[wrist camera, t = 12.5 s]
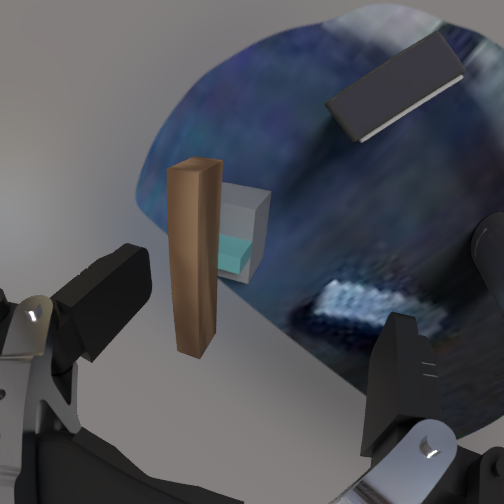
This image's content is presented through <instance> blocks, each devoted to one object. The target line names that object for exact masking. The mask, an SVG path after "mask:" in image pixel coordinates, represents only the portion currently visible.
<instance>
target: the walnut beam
mask: <svg viewBox="0 0 504 504" xmlns="http://www.w3.org/2000/svg"><path fill="white" fill-rule="evenodd" d="M222 171H223V160H218V159H210V158H203V157H195V156H194V157H192V158H190V159H188V160H185V161H183V162H181V163H179V164H176V165H174V166H172V167H170V168H168V169H167V211H168V238H169V257H170V274H171V287H172V300H173V312H174V322H175V331H176V341H177V350H178V351H179V352H181V353H184V354H187V355H190V356H192V357H195V358H198V359H200V358H201V357H202V355H203V353H204V352H205V350H206V348H207V347H208V345H209V343H210V342H211V340H212V338H213V337H214V335H215V333H216V311H217V308H216V307H217V277H218V250H219V227H220V207H221V188H222Z"/></svg>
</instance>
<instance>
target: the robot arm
mask: <svg viewBox="0 0 504 504" xmlns="http://www.w3.org/2000/svg"><path fill="white" fill-rule="evenodd" d="M471 255H472V259H473V261H474V263H475V265H476V266H477V268H478V270H479V272H480V274H481V276H482V278H483V280H484V282H485V283H486V285H487V287H488V289H489V291H490V293H491V295H492V297H493V299H494V301H495V303H496V305H497V307H498V310H499V312H500V314H501V316H502V318H503V320H504V212H496V213H493V214H491V215H489V216H488V217H486V218H485V219H484V220H483V221H482V222H481V223H480V224H479V225H478V227H477V228H476V230H475V232H474V234H473V237H472V241H471ZM151 292H152V280H151V270H150V261H149V253H148V251H147V249H145V248H143V247H139V246H135V245H132V244H129V243H126V244H124V245H122V246H121V247H120V248H119V249H117V250H116V251H115V252H113V253H111V254H109V255H107V256H104V257H102V258H99V259H98V260H96V261H95V262H94V263H92V264H91V265H90V266H89V267H88V269H87V268H86V269H85V270H83V271H82V272H81V273H80V275H77V276H76V277H75V278H73V279H72V280H71V281H70V282H69V283H67V284H66V285H65V286H64V287H62V288H61V289H60V290H59V291H58V292H56V293H55V294H54V295H53V296H52V297H50V298H48V297H46V296H43V295H36V296H32V297H29V298H27V299H25V300H23V301H22V302H21V303H20V304H16V303H11V302H8V301H7V299H6V297H5V294H4V292H3V290H2V289H1V288H0V504H244V502H243V501H240V500H237V499H234V498H230V497H227V496H224V495H221V494H218V493H215V492H213V491H210V490H207V489H204V488H202V487H199V486H193V485H187V484H181V483H175V482H171V481H166V480H161V479H156V478H152V477H150V476H148V475H146V474H145V473H144V472H142V471H141V470H140V469H139V468H138V467H137V466H135V465H134V464H133V463H132V462H131V461H130V460H129V459H128V458H126V457H125V456H124V455H123V454H122V453H121V452H120V451H119V450H118V449H117V448H116V447H115V446H113V445H111V444H109V443H108V442H106V441H104V440H102V439H101V438H99V437H98V436H96V435H95V434H93V433H91V432H89V431H88V430H87V429H85V428H83V427H81V424H80V422H79V419H78V415H77V375H78V365H77V362H76V360H77V359H78V358H79V357H80V356H81V357H83V358H84V359H86V360H88V361H90V362H91V363H92V362H93V361H94V360H95V359H96V358H97V357H98V355H99V354H100V353H101V352H102V351H103V350H104V349H105V347H106V346H107V345H108V344H109V343H110V342H111V341H112V339H114V337H115V336H116V335H117V334H118V333H119V332H120V331H121V330H122V329H123V327H124V326H125V325H126V324H127V323H128V322H129V321H130V320H131V319H132V317H133V316H134V315H135V314H136V313H137V312H138V311H139V310H140V309H141V308H142V307H143V306H144V305H145V303H146V302H147V301H148V300H149V298H150V295H151ZM435 365H436V361H435V354H434V349H433V348H432V346H431V344H430V343H429V341H428V339H427V338H426V336H421V335H418V330H417V323H416V319H415V317H413V316H409V315H404V314H400V313H395V312H391V313H390V315H389V316H388V318H387V320H386V323H385V325H384V327H383V329H382V331H381V333H380V335H379V337H378V340H377V342H376V344H375V346H374V348H373V350H372V353H371V357H370V361H369V371H368V387H367V400H366V410H365V411H366V412H365V420H364V429H363V439H362V445H361V454H360V456H363V457H371V458H372V460H371V467H370V468H369V469H368V470H367V471H366V472H365V473H364V474H363V475H362V476H361V477H359V478H358V479H357V480H356V481H355V482H354V483H353V484H351V485H350V486H349V487H348V488H347V489H346V490H344V491H343V492H342V493H341V494H339V495H338V496H337V497H336V498H335V499H333V500H332V501H331V502H329V503H328V504H504V448H503V447H493V448H491V449H489V450H488V451H486V452H485V453H484V454H483V455H480V454H478V453H475V452H473V451H470V450H468V449H465V448H462V447H461V446H459V445H457V441H456V437H455V435H454V433H453V431H452V430H451V429H450V428H449V427H448V426H447V425H446V424H444V423H443V420H442V409H441V399H440V390H439V382H438V378H437V375H438V374H437V367H436V366H435Z"/></svg>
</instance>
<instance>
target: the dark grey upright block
mask: <svg viewBox="0 0 504 504" xmlns="http://www.w3.org/2000/svg"><path fill="white" fill-rule="evenodd" d="M465 71H466V70H465V68H464V66H463V65H462V63H461V62H460V60H459V59H458V57H457V56H456V54H455V53H454V52H453V50H452V49H451V47H450V46H449V45H448V43H447V42H446V40H445V39H444V38H443V36H442V35H441V34H440V33H439V32H438V31H435V32H433V33H432V34H430V35H428V36H427V37H425V38H423V39H422V40H420V41H418V42H417V43H415V44H413V45H412V46H410V47H408V48H407V49H405V50H403V51H402V52H400V53H399V54H397V55H395V56H394V57H392V58H391V59H389V60H388V61H386V62H384V63H383V64H381V65H380V66H378V67H377V68H375V69H374V70H372V71H371V72H369V73H368V74H366V75H365V76H363V77H362V78H360V79H359V80H357V81H356V82H354V83H353V84H351V85H350V86H348V87H347V88H345V89H344V90H343V91H341V92H340V93H338V94H337V95H335V96H334V97H333V98H331V99H330V100H328V101H327V102H326V103H325V106H326V108H327V109H328V110H329V112H330V113H331V114H332V115H333V117H334V118H335V119H336V121H337V122H338V123H339V125H340V126H341V127H342V128H343V130H344V131H345V132H346V134H347V135H348V137H349V138H350V139H351V141H352V142H357V141H358V140H359V141H360V142H361V143H362V142H364V141H366V140H367V139H369V138H370V137H372V136H373V135H375V134H377V133H378V132H380V131H381V130H383V129H384V128H386V127H387V126H389V125H390V124H392V123H393V122H395V121H396V120H398V119H400V118H401V117H403V116H404V115H406V114H407V113H409V112H410V111H412V110H413V109H415V108H417V107H418V106H420V105H421V104H423V103H424V102H426V101H428V100H429V99H431V98H432V97H434V96H436V95H437V94H439V93H440V92H442V91H443V90H445V89H447V88H448V87H450V86H452V85H453V84H455V83H456V82H458V81H460V80H461V79H462V78H463V76H462V75H461V74H463V73H464V72H465Z"/></svg>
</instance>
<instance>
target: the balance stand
mask: <svg viewBox="0 0 504 504" xmlns="http://www.w3.org/2000/svg"><path fill="white" fill-rule="evenodd" d="M270 200H271V191H268V190H263V189H258V188H252V187H247V186H242V185H236V184H230V183H225V182H222V188H221V207H220V227H219V250H218V276H221V277H224V278H228V279H232V280H235V281H239V282H243V283H247V284H248V283H249V281H250V279H251V278H252V276H253V274H254V272H255V271H256V269H257V267H258V266H259V264H260V262H261V260H262V259H263V256H264V248H265V240H266V232H267V224H268V216H269V208H270Z"/></svg>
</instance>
